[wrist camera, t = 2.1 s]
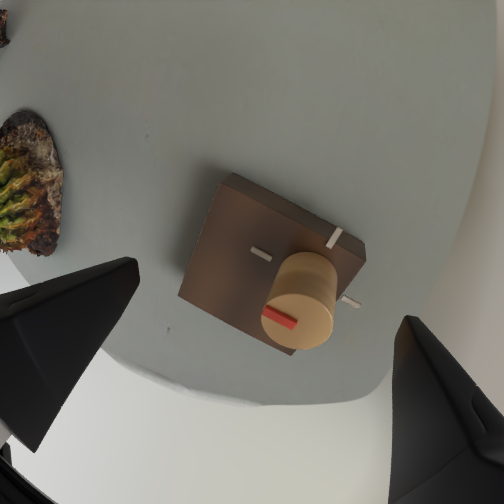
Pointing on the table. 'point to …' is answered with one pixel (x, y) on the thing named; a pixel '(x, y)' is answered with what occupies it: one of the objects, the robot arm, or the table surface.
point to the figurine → (3, 28)
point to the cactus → (29, 186)
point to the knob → (301, 302)
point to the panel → (258, 253)
